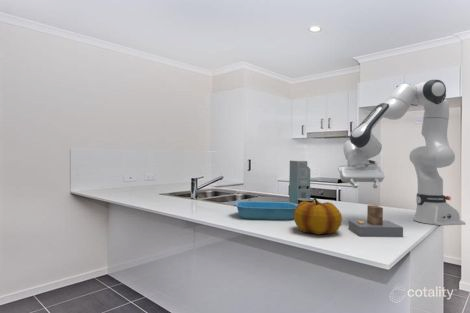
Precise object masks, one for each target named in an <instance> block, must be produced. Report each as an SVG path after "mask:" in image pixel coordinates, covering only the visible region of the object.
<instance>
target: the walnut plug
mask: <svg viewBox="0 0 470 313" xmlns="http://www.w3.org/2000/svg"><path fill="white" fill-rule="evenodd" d="M366 209H367V212H366V213H367V214H366V215H367V216H366V217H367V218H366V220H367V222H368V223H369V224H371V225H383V221H384V220H383V218H384V217H383V215H384V208H383V207H382V206H379V205H376V204H375V205H374V204H373V205H371V204H369V205H367V208H366Z"/></svg>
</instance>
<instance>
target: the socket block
mask: <svg viewBox="0 0 470 313" xmlns="http://www.w3.org/2000/svg"><path fill="white" fill-rule="evenodd" d="M348 230H350V231H352V232H353V233H354V234H356V235H357V236H359V237H370V238H371V237H373V238H374V237H376V238H377V237H381V238H382V237H383V238H385V237H387V238H389V237H390V238H404V226H401V225H398V224H396V223H394V222H392V221H389V220H383V225H371V224H369V223H368V222H367V219H366V220H363V219H357V220H356V219H349V220H348Z"/></svg>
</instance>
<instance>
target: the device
mask: <svg viewBox="0 0 470 313" xmlns="http://www.w3.org/2000/svg"><path fill="white" fill-rule="evenodd" d="M288 180H289V183H288V184H289V186H288V189H289V191H288V196H289V197H288V198H289V199H288V202H289V203H294V204H298V199H299V198H308V199H311V167H310V166H308V160H289V179H288Z"/></svg>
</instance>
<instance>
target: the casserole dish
mask: <svg viewBox="0 0 470 313" xmlns="http://www.w3.org/2000/svg"><path fill="white" fill-rule="evenodd" d="M232 205H233V206H234V207H236V208H237V213H238V215H239V216H240V217H241V218H242V219H244V220H245V219H246V220H263V221H264V220H265V221H266V220H271V221H290V220H291V221H292V220H294V210H295V208H296V207H297V205H298V204H294V203H289V201H287V202H285V201H264V200H262V201H259V200H258V201H256V200H255V201H254V200H242V201H237V202H233V203H232Z"/></svg>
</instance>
